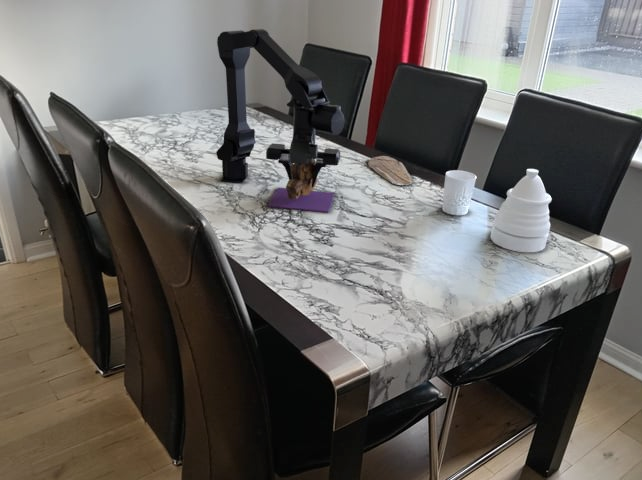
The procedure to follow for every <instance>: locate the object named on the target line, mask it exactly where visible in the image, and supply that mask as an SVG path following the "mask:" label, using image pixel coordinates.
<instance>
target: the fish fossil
mask: <svg viewBox="0 0 642 480" xmlns="http://www.w3.org/2000/svg"><path fill="white" fill-rule="evenodd" d="M367 162H368V163H367V165H368V167H369V168H370V169H372V170H373V171H374V172H376V173H377V174H378V175H379V176H380V177H382V178H383V179H385V180H386V181H387V182H389V183H390V184H392V185H396V186H409V185H412V183H413V179H412V176H411V175H410V173H409V171H408V170H407V168H406V166H405V165H404V164H403V163H402V161H398V160H397V159H395V158H393V157H390V156H387V155H380V156H375V157H371V159H369V161H367Z"/></svg>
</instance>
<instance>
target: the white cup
mask: <svg viewBox="0 0 642 480" xmlns="http://www.w3.org/2000/svg"><path fill="white" fill-rule="evenodd" d="M476 180H477V175H476V174H475V173H473V172H470V171H466V170H461V169H459V170H458V169H455V170H454V169H453V170H448V171H446V172H445V176H444V185H443V193H442V194H443V195H442V208H441V209H442V212H443V213H445V214H448V215H451V216H464V215H467V214H468V212H469V209H470V204H471V201H472V197H473V195H474V189H475V185H476Z"/></svg>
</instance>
